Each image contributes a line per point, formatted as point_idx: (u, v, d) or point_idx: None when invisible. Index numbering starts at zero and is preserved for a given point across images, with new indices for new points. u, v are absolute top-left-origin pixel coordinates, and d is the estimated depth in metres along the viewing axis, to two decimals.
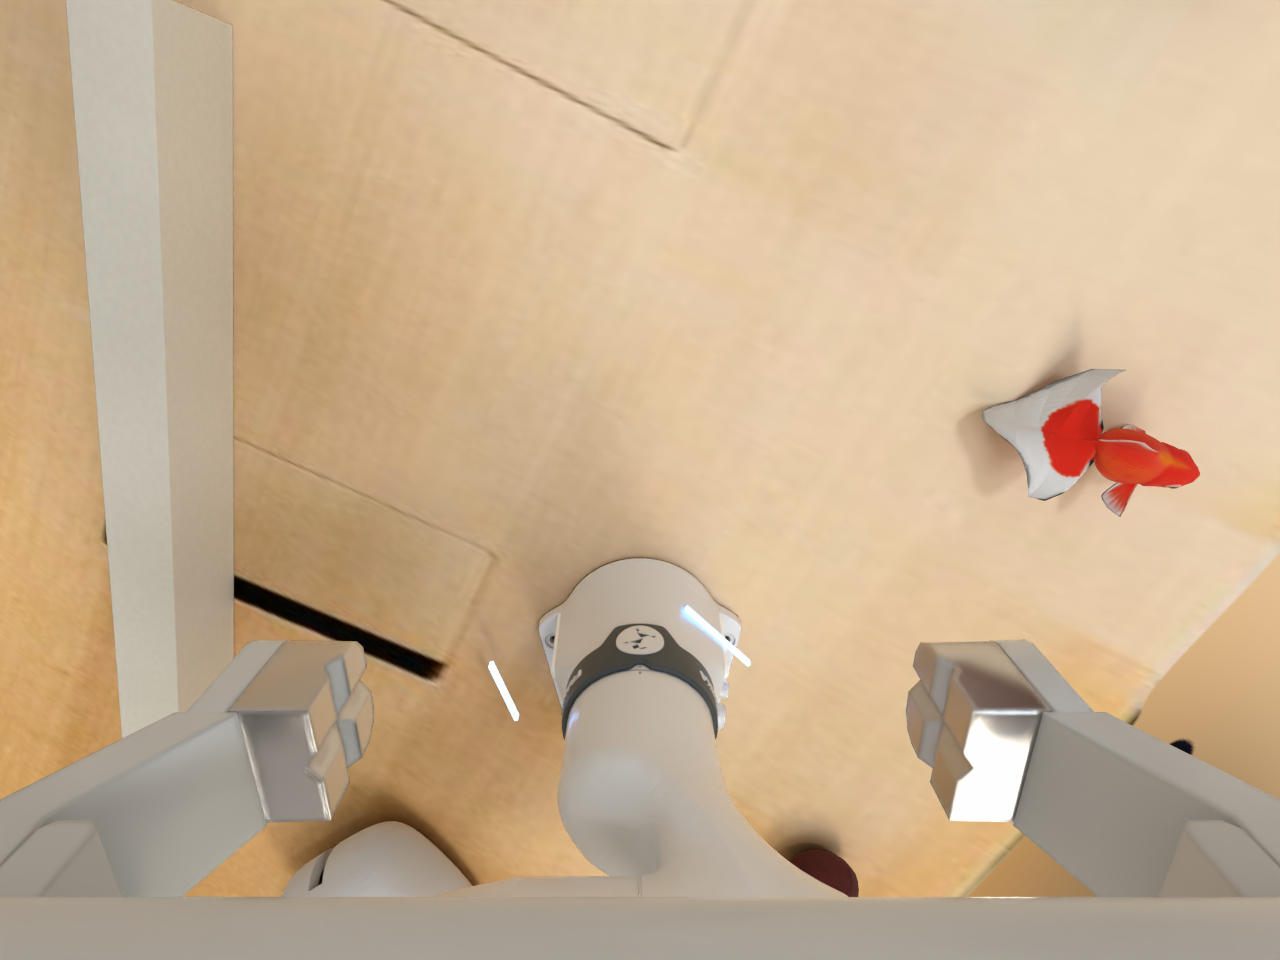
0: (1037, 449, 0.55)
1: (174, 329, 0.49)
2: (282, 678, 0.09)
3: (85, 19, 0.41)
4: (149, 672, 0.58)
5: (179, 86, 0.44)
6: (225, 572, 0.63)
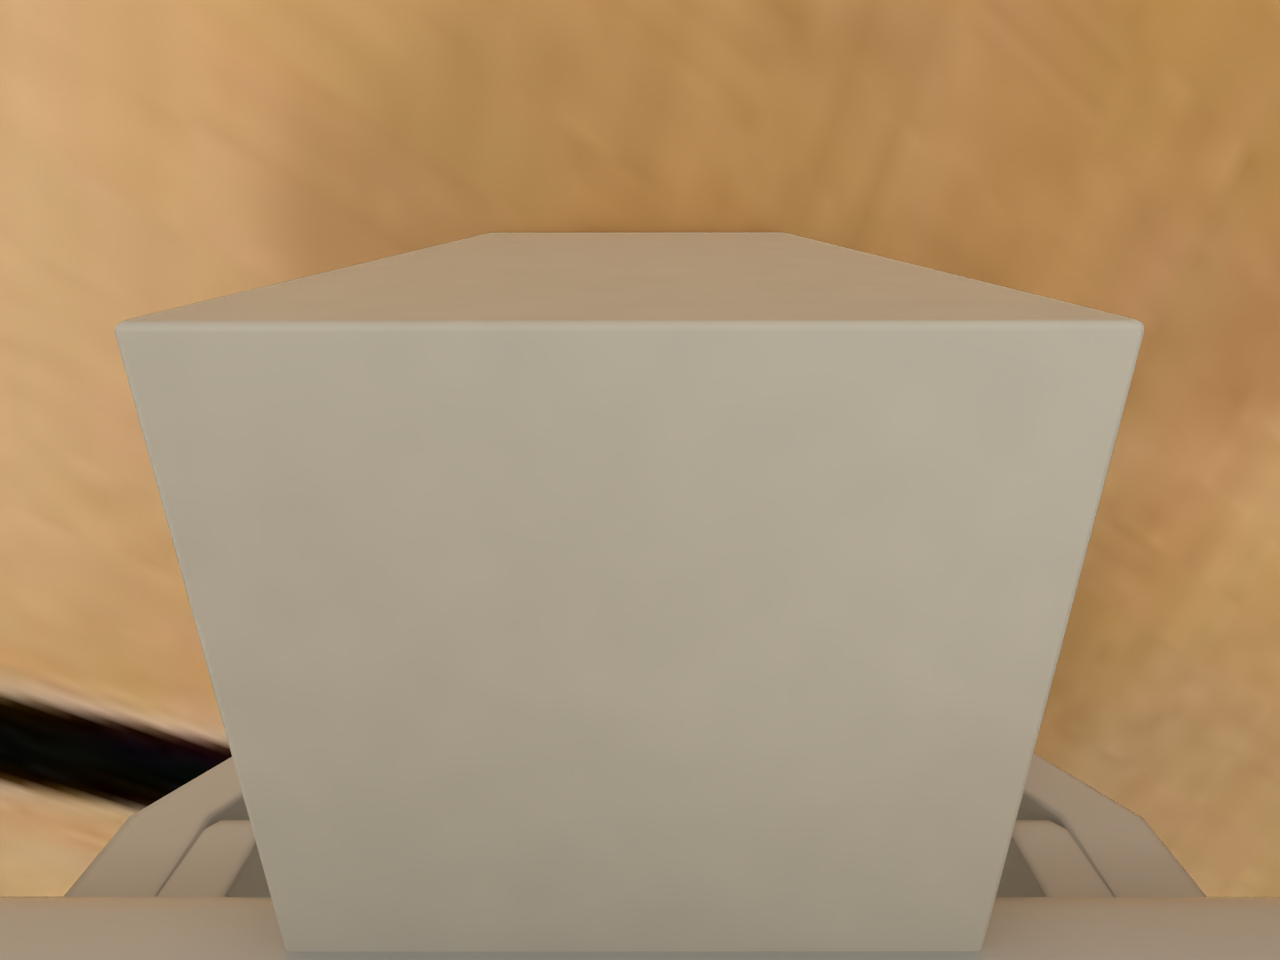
0: None
1: None
2: None
3: None
4: None
5: None
6: None
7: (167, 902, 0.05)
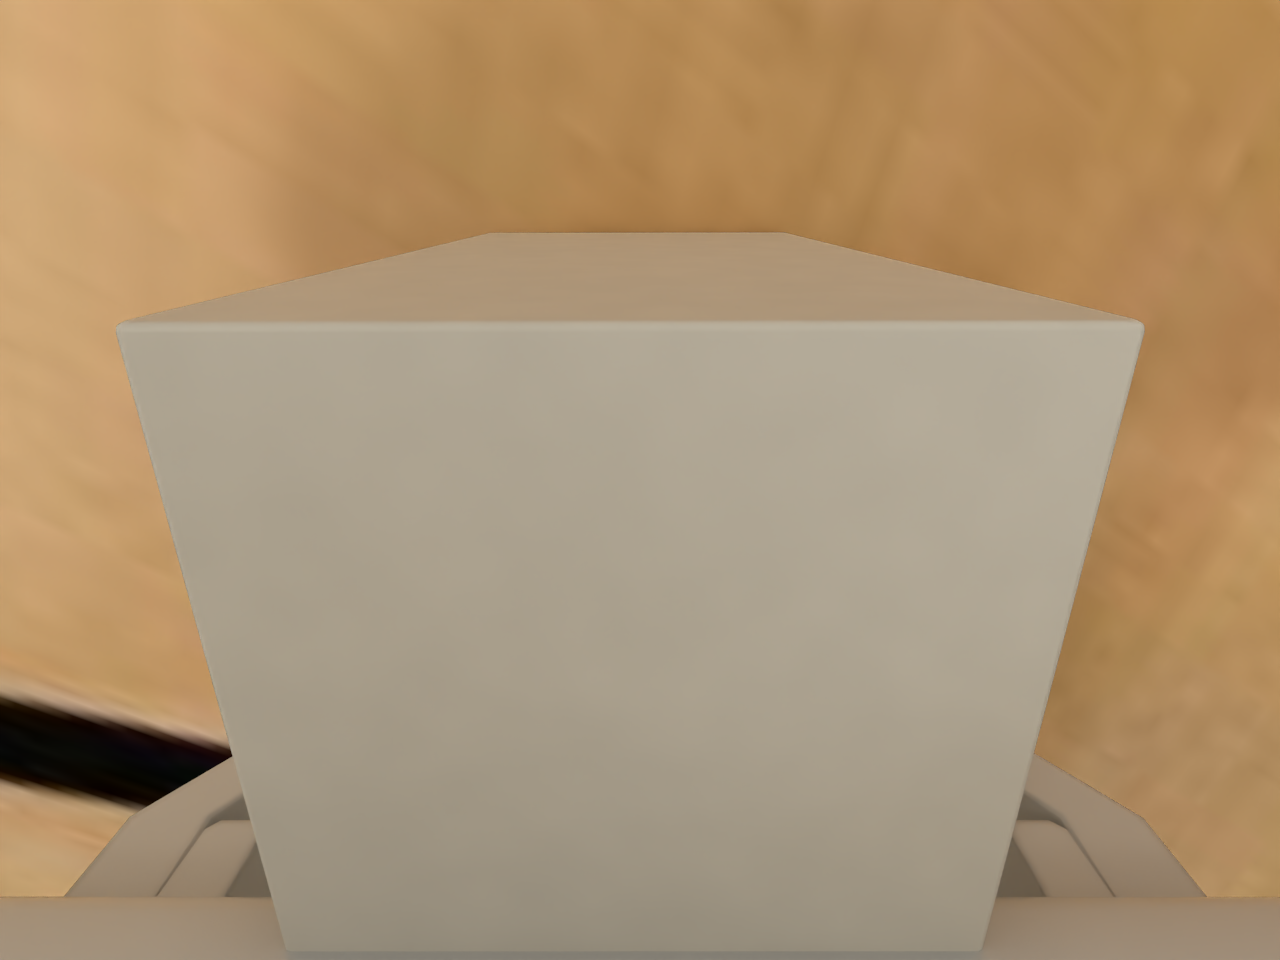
0: None
1: None
2: None
3: None
4: None
5: None
6: None
7: (166, 902, 0.05)
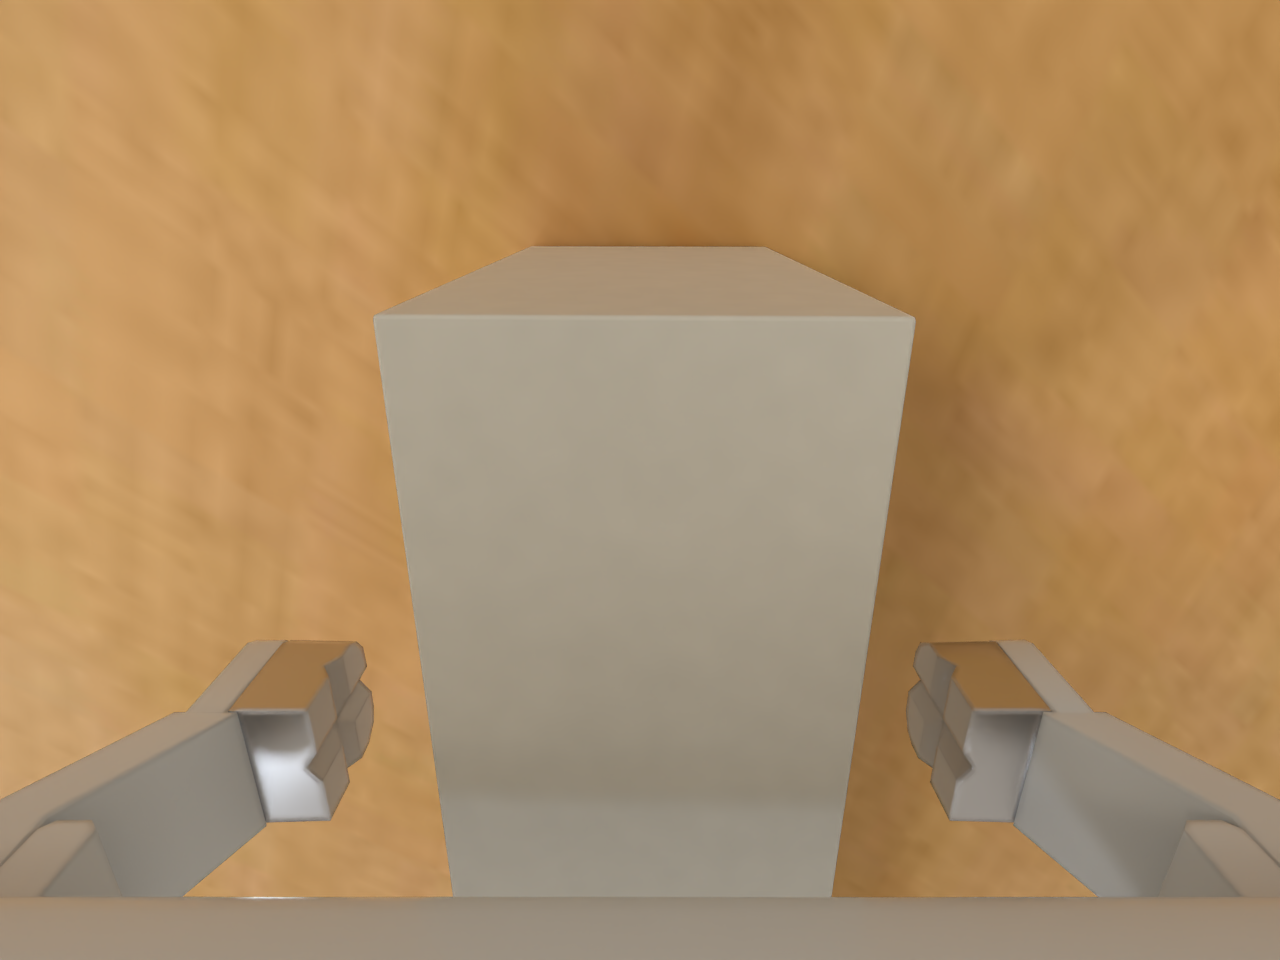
0: None
1: None
2: (282, 678, 0.09)
3: None
4: None
5: None
6: None
7: (167, 902, 0.05)
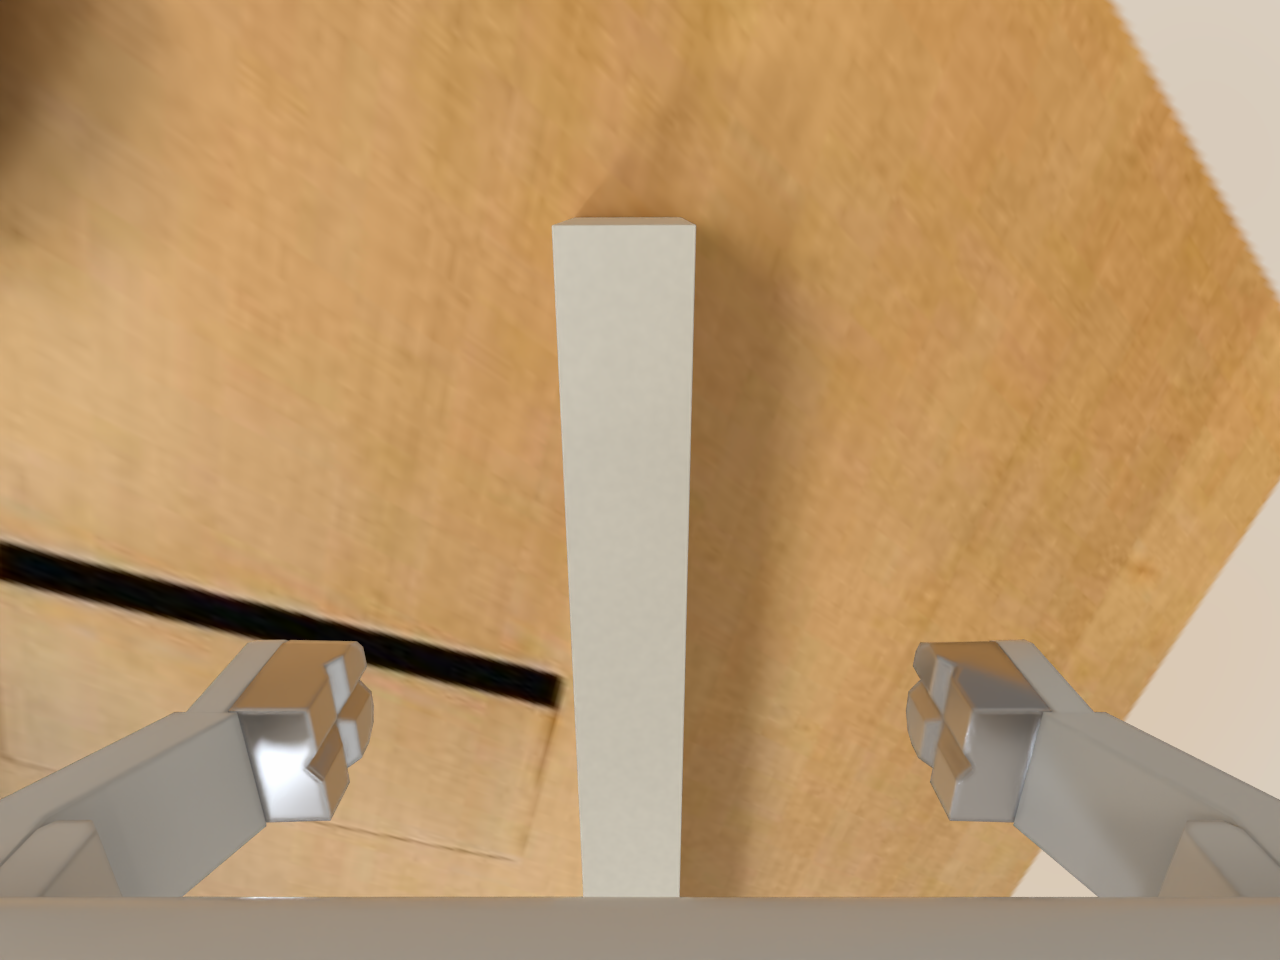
0: None
1: None
2: (282, 678, 0.09)
3: None
4: (622, 507, 0.27)
5: None
6: None
7: (167, 902, 0.05)
